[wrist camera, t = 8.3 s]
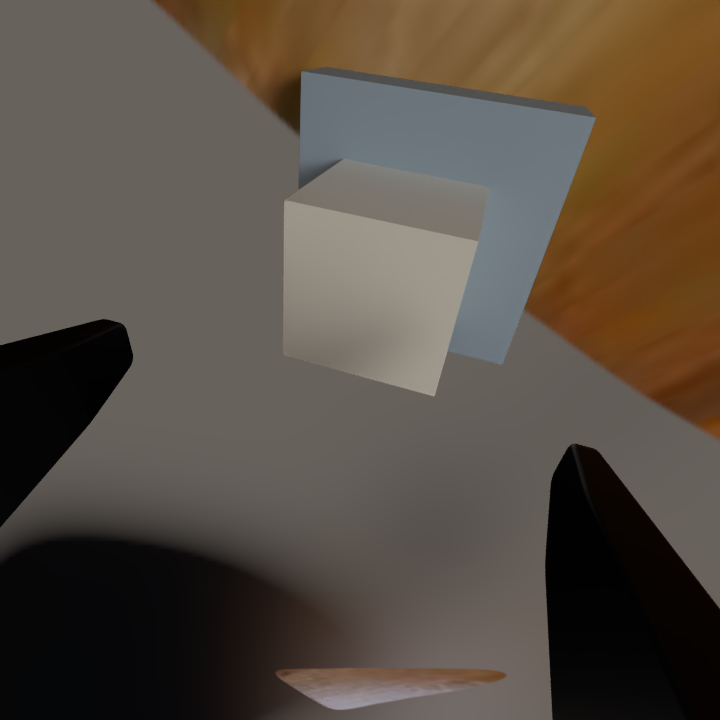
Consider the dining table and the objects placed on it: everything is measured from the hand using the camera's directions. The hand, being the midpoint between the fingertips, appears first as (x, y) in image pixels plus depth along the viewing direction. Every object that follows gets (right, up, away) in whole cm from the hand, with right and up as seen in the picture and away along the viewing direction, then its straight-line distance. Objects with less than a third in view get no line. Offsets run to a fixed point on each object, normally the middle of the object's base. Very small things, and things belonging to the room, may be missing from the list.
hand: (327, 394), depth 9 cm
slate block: (+3, +7, +10) cm, 13 cm away
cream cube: (+2, +5, +8) cm, 10 cm away
